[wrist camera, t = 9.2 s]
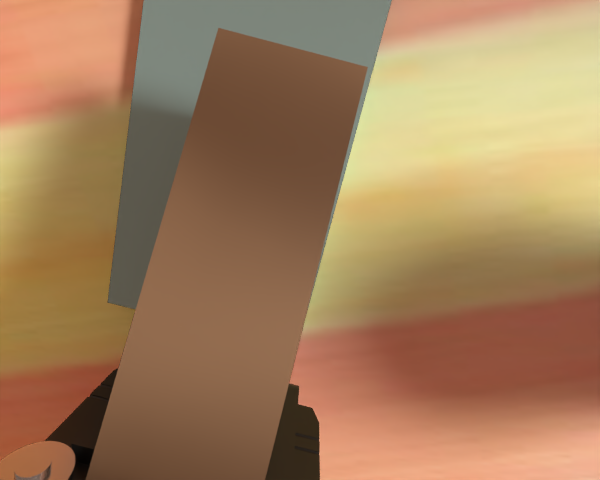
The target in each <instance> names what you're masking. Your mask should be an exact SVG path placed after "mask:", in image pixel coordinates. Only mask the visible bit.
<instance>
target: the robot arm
mask: <svg viewBox="0 0 600 480" xmlns="http://www.w3.org/2000/svg"><path fill="white" fill-rule="evenodd" d="M117 371H118V369H116V370H114V371H113V372H112V373H111V374H110V375H109V376H108V377H107V378H106V379H105V380H104V381H103V382H102V383H101V385H100V386H98V387H97V388H96V389H95V390H94V391H93V392H92V393H91V395H90V397H87V398H86V399H85V400H84V401H83V402H82V404H81V405H80V406H79V407H78V408H77V409H76V410H75V411H74V412H73V413H72V414H71V415H70V416H69V417H68V418H67V419H66V420H65V421H64V422H63V423H62V424H61V425H60V426H59V427H58V428H57V429H56V430H55V431H54V432H53V433H52V434H51V435H50V436H49V437H48V438H47V439H46V440H45V441H42V442H37V443H32V444H29V445H26V446H24V447H21V448H19V449H17V450H15V451H13V452H12V453H10V454H9V455H7V456H6V457H4V458H3V459H2V460H1V461H0V480H86V477H87V473H88V470H89V467H90V463H91V460H92V456H93V453H94V450H95V446H96V443H97V439H98V436H99V432H100V429H101V426H102V422H103V419H104V415H105V412H106V409H107V405H108V402H109V398H110V395H111V392H112V388H113V385H114V381H115V378H116V375H117ZM298 395H299V386H297V385H293V384H289V386H288V390H287V394H286V398H285V402H284V406H283V410H282V414H281V418H280V422H279V426H278V430H277V434H276V438H275V442H274V446H273V450H272V454H271V458H270V462H269V466H268V470H267V474H266V478H265V480H320V463H319V422H318V419H317V417H316V415H315V413H314V411H313V409H312V408H310V407H306V406H302V405H298Z"/></svg>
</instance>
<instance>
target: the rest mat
mask: <svg viewBox="0 0 600 480" xmlns="http://www.w3.org/2000/svg"><path fill="white" fill-rule="evenodd" d="M391 1H392V0H144V2H143V10H142V19H141V27H140V35H139V44H138V52H137V61H136V69H135V77H134V86H133V94H132V102H131V111H130V119H129V128H128V136H127V144H126V153H125V161H124V169H123V178H122V186H121V195H120V203H119V211H118V220H117V228H116V236H115V245H114V253H113V262H112V270H111V278H110V287H109V295H108V303H112V304H116V305H120V306H124V307H128V308H132V309H136V307H137V303H138V300H139V296H140V293H141V290H142V286H143V283H144V279H145V276H146V273H147V269H148V266H149V262H150V259H151V256H152V252H153V249H154V245H155V242H156V239H157V235H158V232H159V228H160V225H161V222H162V218H163V215H164V211H165V208H166V204H167V201H168V198H169V194H170V191H171V187H172V184H173V181H174V177H175V174H176V170H177V167H178V164H179V160H180V157H181V153H182V150H183V147H184V143H185V140H186V136H187V133H188V130H189V126H190V123H191V119H192V116H193V113H194V109H195V106H196V102H197V99H198V96H199V92H200V89H201V85H202V82H203V79H204V75H205V72H206V68H207V65H208V62H209V58H210V55H211V51H212V48H213V45H214V41H215V38H216V34H217V31H218V28H221V29H225V30H229V31H233V32H237V33H240V34H244V35H248V36H252V37H256V38H259V39H263V40H267V41H271V42H275V43H278V44H282V45H286V46H290V47H294V48H297V49H301V50H305V51H309V52H313V53H316V54H320V55H324V56H328V57H332V58H335V59H339V60H343V61H347V62H351V63H354V64H358V65H362V66H366V67H368V69H367V73H366V77H365V81H364V85H363V89H362V93H361V97H360V101H359V105H358V109H357V113H356V117H355V121H354V125H353V129H352V133H351V137H350V141H349V145H348V149H347V153H346V157H345V161H344V165H343V169H342V173H341V177H340V181H339V185H338V189H337V193H336V197H335V201H334V205H333V209H332V213H331V217H330V221H329V225H328V229H327V233H326V237H325V241H324V245H323V249H322V253H321V257H320V261H319V265H318V269H319V266H320V262H321V258H322V255H323V251H324V247H325V244H326V240H327V236H328V233H329V229H330V225H331V222H332V218H333V214H334V211H335V207H336V203H337V199H338V196H339V192H340V188H341V185H342V181H343V177H344V174H345V170H346V166H347V163H348V159H349V155H350V152H351V148H352V144H353V141H354V137H355V133H356V130H357V126H358V122H359V118H360V115H361V111H362V107H363V104H364V100H365V96H366V93H367V89H368V85H369V82H370V78H371V74H372V71H373V67H374V63H375V60H376V56H377V52H378V49H379V45H380V41H381V38H382V34H383V30H384V26H385V23H386V19H387V15H388V12H389V8H390V4H391ZM318 269H317V273H318ZM317 273H316V277H317ZM316 277H315V280H316ZM314 284H315V281H314ZM313 288H314V285H313ZM312 291H313V289H312ZM311 295H312V293H311ZM310 299H311V297H310ZM309 303H310V301H309ZM308 306H309V305H308ZM307 310H308V309H307ZM306 314H307V313H306Z"/></svg>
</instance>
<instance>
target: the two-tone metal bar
mask: <svg viewBox="0 0 600 480" xmlns="http://www.w3.org/2000/svg"><path fill="white" fill-rule="evenodd" d="M367 69H368V67H366V66H362V65H358V64H354V63H351V62H347V61H343V60H339V59H335V58H332V57H328V56H324V55H320V54H316V53H313V52H309V51H305V50H301V49H297V48H294V47H290V46H286V45H282V44H278V43H275V42H271V41H267V40H263V39H259V38H256V37H252V36H248V35H244V34H240V33H237V32H233V31H229V30H225V29H221V28H218V31H217V34H216V38H215V41H214V45H213V48H212V51H211V55H210V58H209V62H208V65H207V68H206V72H205V75H204V79H203V82H202V85H201V89H200V92H199V96H198V99H197V102H196V106H195V109H194V113H193V116H192V119H191V123H190V126H189V130H188V133H187V136H186V140H185V143H184V147H183V150H182V153H181V157H180V160H179V164H178V167H177V170H176V174H175V177H174V181H173V184H172V187H171V191H170V194H169V198H168V201H167V204H166V208H165V211H164V215H163V218H162V222H161V225H160V228H159V232H158V235H157V239H156V242H155V245H154V249H153V252H152V256H151V259H150V262H149V266H148V269H147V273H146V276H145V279H144V283H143V286H142V290H141V293H140V296H139V300H138V303H137V307H136V310H135V313H134V317H133V320H132V324H131V327H130V330H129V334H128V337H127V341H126V344H125V347H124V351H123V354H122V358H121V361H120V364H119V368H118V371H117V375H116V378H115V381H114V385H113V388H112V392H111V395H110V398H109V402H108V405H107V409H106V412H105V415H104V419H103V422H102V426H101V429H100V432H99V436H98V439H97V443H96V446H95V450H94V453H93V456H92V460H91V463H90V467H89V470H88V473H87V477H86V480H265V478H266V474H267V470H268V466H269V462H270V458H271V454H272V450H273V446H274V442H275V438H276V434H277V430H278V426H279V422H280V418H281V414H282V410H283V406H284V402H285V398H286V394H287V390H288V386H289V382H290V378H291V374H292V370H293V366H294V362H295V358H296V354H297V350H298V345H299V341H300V337H301V333H302V329H303V325H304V321H305V317H306V313H307V309H308V305H309V301H310V297H311V293H312V289H313V285H314V281H315V277H316V273H317V269H318V265H319V261H320V257H321V253H322V249H323V245H324V241H325V237H326V233H327V229H328V225H329V221H330V217H331V213H332V209H333V205H334V201H335V197H336V193H337V189H338V185H339V181H340V177H341V173H342V169H343V165H344V161H345V157H346V153H347V149H348V145H349V141H350V137H351V133H352V129H353V125H354V121H355V117H356V113H357V109H358V105H359V101H360V97H361V93H362V89H363V85H364V81H365V77H366V73H367Z"/></svg>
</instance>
